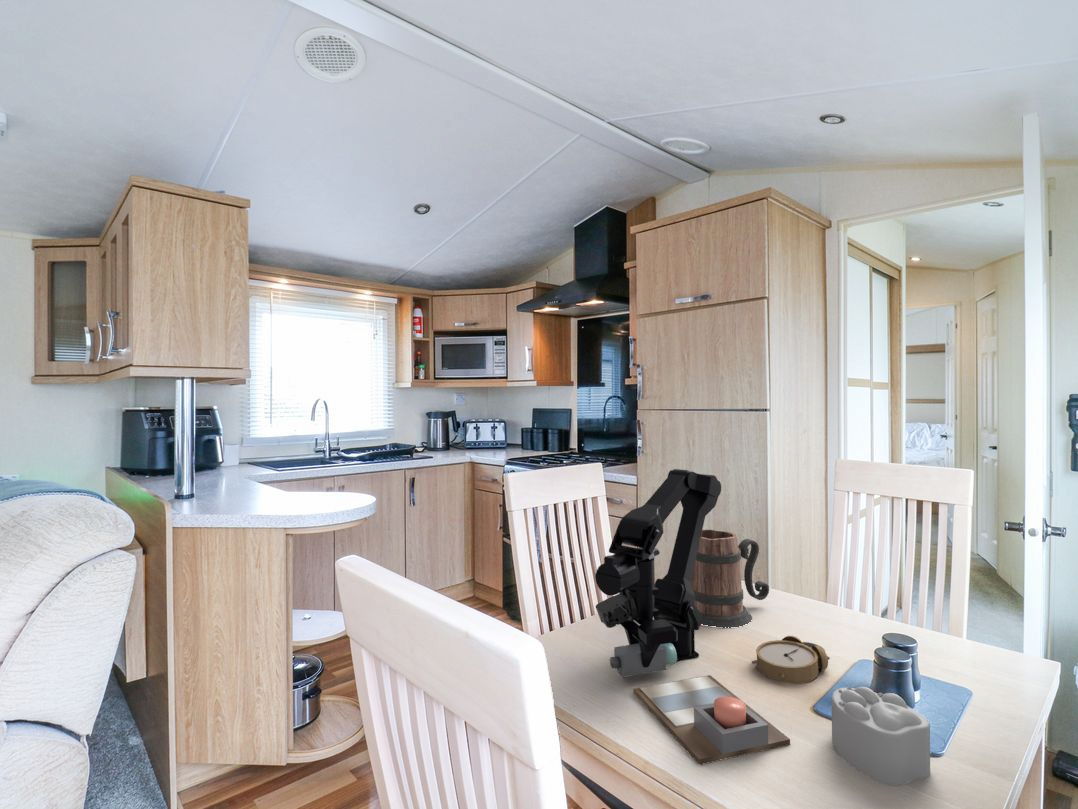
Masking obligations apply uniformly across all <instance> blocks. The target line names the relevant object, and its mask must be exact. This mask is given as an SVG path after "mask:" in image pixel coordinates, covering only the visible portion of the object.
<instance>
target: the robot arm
mask: <svg viewBox="0 0 1078 809" xmlns="http://www.w3.org/2000/svg"><path fill="white" fill-rule="evenodd" d="M721 492H722V483H721V481H720V480H718V478H717V476H715V475H714V474H706V473H705V474H704V473H696V472H695V471H693V470H690V469H679V468H675V469H671V470H670V471H668V474H667V477H666V478H665V480H664V481H663V482H662V483H661V485H660V486H659V487H658V488H657V489H656V490H655V491H654V493H653V494H652V495H651V497H649V499H647V501H646V502H645V503H644V504H643V505H641V506H640V507H639V506H638V507H637V508H634V509H631V510H630V511H629V512H627V513H626V514H625V515H624V516H622V517H621V520H619V523H618V525H617V528H616V531H615V534H614V536H613V538H612V541H611V543H610V547H609V549H608V553H609V554H611V555H606V556H603V557H604V558H603V559H604V560H603V563H602V564H600V565H599V566H598V567H597V568H596V572H595V575H594V576H595V582H596V585H597V587H598V589H599V591H601V592H602V593H603V594H604V595H606V596H609V597H608V598H606V599H605V600H602V601H600V602H598V603H597V604H596V605H595V609H596V611H597V615H598V617H599V620H600V623H603V624H604V625H605V627H606V628H608V629H612V628H615V627H616V626H617V625H620V626H621V627H622V628H624V632H625V635H626V638H627V642H628V645H632V644H638V643H639V644H640V652H641V659H642V665H643V667H644V668H645V667H649V665H650V663H651V661H652V659H653V657H654V655H655V653H656V651H657V649H658V647H659V646H660V644H666V643H672V644H673V645H674V647H675V649H676V653H677V661H679V660H685V659H692V658H697V657H699V656H700V654H699V652H697V651H696V648H695V647H696V645H695V642H696V641H695V639H696V638H695V631H699V630H700V627H701V622H702V614H701V613H700V612H699V610H698V609H697V607H696V606H695V605H694V602H695V594H694V591H693V587H692V584H691V577H692V572H693V568H694V564H695V559H696V555H697V550H698V546H699V542H700V537H701V533H702V530H704V529H703V527H704V523H705V519H706V516H708V514H709V513H710V512H711V511H712V510H713V509H714V508H715V507H716V506H717V502H718V500H719V496H720V495H721ZM679 503H680V504H681V506H682V511H681V516H680V520H679V524H678V530H677V531H676V532H677V533H676V537H675V541H674V546H673V549H672V553H671V557H670V561H669V562H670V563H669V566H668V570H667V573H666V574H665V575H664V577H662V578H657V579H656V578H655V557H656V556H658V555H660V552H661V551H660V550H659V549H657V548H656V547H657V545H658V543H659V542H660V541H661V538H662V536H663V534H664V523H665V521H666V520H667V518H668V517H669V516H670V515H671V513H672V512H673V511H674V509H675V508H676V507H677V506H678V504H679ZM636 547H637V548H636ZM655 579H656V580H655Z"/></svg>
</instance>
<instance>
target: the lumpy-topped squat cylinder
mask: <svg viewBox="0 0 1078 809" xmlns="http://www.w3.org/2000/svg"><path fill="white" fill-rule="evenodd" d="M831 743H832V746H833V748H834V750H835V752H836V753H837V754H836V755H838V756H839V757H840V758H841V759H842V760H844V761H845V762H846V763H848V764H849V765H850V766H851V767H853V768H855V770H858V771H859V772H861V773H862V774H864V775H865V776H867V777H868V778H871V780H874V781H876V782H878V783H881V784H884V785H886V786H892V787H901V786H904V785H906V784H908V783H910V782H913V781H916V780H923V779H926V778H929V777H930V776H931V725H930V723H929V720H928V719H927V718H926V717H925V716H924V715H923V714H921V713H920V712H918V711H917V710H915V709H913V708H912V707H910V706H909V705H907V703H906V702H905V700H904V699H903V698H902V697H901V696H899V695H898V694H896V693H893V692H886V693H882V692H878V693H877V692H874V690H872V689H871V688H869V687H867V686H858V687H855V688H854V687H850V686H849V687H848V686H847V687H840V688H837V689H836V690H834V691H833V693H832V695H831Z"/></svg>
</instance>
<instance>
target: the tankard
mask: <svg viewBox="0 0 1078 809" xmlns="http://www.w3.org/2000/svg"><path fill="white" fill-rule="evenodd" d="M749 546H750V552H749ZM759 550H760V546H759V544H758V542H756V541H755V540H753V539H750V538H744V539H743V540H742V541H741V542H740V543H739V542H738V536H737V535H736V533H733V532H730V531H727V530H726V531H725V530H723V531H722V530H715V529H702V533H701V537H700V542H699V546H698V550H697V555H696V559H695V564H694V568H693V572H692V577H691V584H692V587H693V591H694V594H695V602H694V605H695V606H696V607H697V609H698V610H699V612H700V613H701V614H702V622H701V624H703V625H708V626H716V627H723V628H722V629H732V628H731V627H738V628H740V627H739V626H742V627H744V626H743V625H745V624H748V623H749V622H751V623H752V621H753V616H752V615H751V613H749V610H748V609H747V607H746V606H745V605H744V602H743V600H744V590H743V586H742V570H741V568H742V567H741V560H742V559H745V560H746V562H745V565H744V571H743V572H744V575H743V577H744V586H745V589H746V591H747V594H749V596H750V597H752V598H753V599H755V600H757V601H763V600H765V599H766V598H767V597H768V595H769V593H770V586H769V584H768V583H766V582H764V581H762V580H757V581H756V582H754V585H753V571H754V566H755V564H756V562H757V559H758V557H759V554H760V552H759ZM754 589H755V590H754ZM756 592H759V593H757V594H756ZM751 620H752V621H751ZM749 624H750V623H749ZM749 624H748V625H749ZM745 626H746V625H745ZM725 627H726V628H725ZM728 627H729V628H728Z"/></svg>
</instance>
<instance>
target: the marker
mask: <svg viewBox="0 0 1078 809" xmlns="http://www.w3.org/2000/svg"><path fill="white" fill-rule="evenodd" d="M613 652H614V656H611V657H610V658H609V665H610V667H611V669H616V671H617V672H618V673H619V674H620V675H621V676H622V677H623V678H625V677H632V676H637V675H643V674H649V673H655V672H661V671H666V670H667V666H669V665H674V664H676V663H677V661H678V660H677V653H676V649H675V647H674V645H673V644H672V643H666V644H660V646H659V647H658V649H657V651H656V653H655V655H654V657H653V659H652V661H651V663H650V665H649V667H645V668H644V667H643V665H642V659H641V652H640V644H639V643H638V644H632V645H629V644H627V645H621V646H614V650H613Z"/></svg>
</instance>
